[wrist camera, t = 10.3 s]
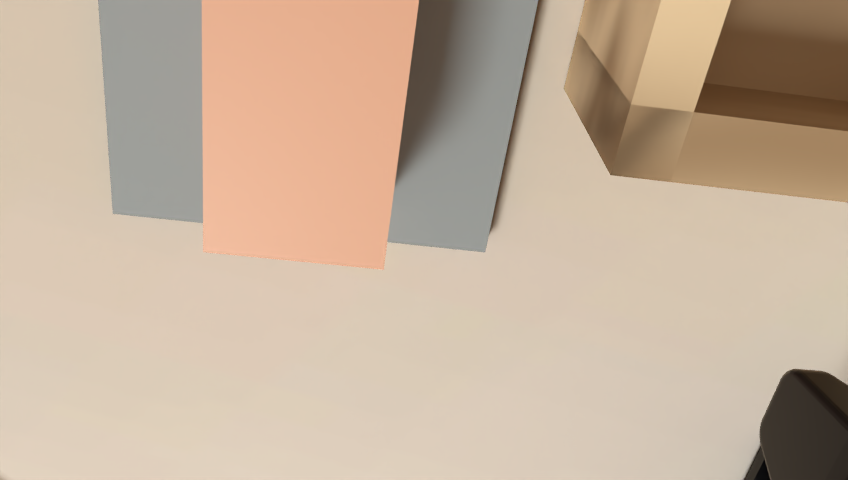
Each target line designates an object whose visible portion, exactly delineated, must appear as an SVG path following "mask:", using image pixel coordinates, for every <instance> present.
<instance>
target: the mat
mask: <svg viewBox="0 0 848 480" xmlns="http://www.w3.org/2000/svg"><path fill="white" fill-rule="evenodd" d="M98 4H99V19H100V33H101V48H102V62H103V77H104V91H105V106H106V120H107V135H108V149H109V164H110V178H111V193H112V207H113V214H121V215H130V216H140V217H150V218H159V219H169V220H179V221H188V222H198V223H203V135H202V0H98ZM537 4H538V0H419V5H418V12H417V20H416V28H415V35H414V43H413V50H412V58H411V66H410V73H409V81H408V88H407V96H406V103H405V111H404V119H403V126H402V134H401V141H400V149H399V157H398V164H397V172H396V179H395V187H394V194H393V202H392V210H391V217H390V225H389V232H388V240H387V242H391V243H401V244H410V245H420V246H430V247H439V248H449V249H459V250H468V251H478V252H485V250H486V246H487V241H488V236H489V232H490V227H491V222H492V217H493V213H494V208H495V203H496V198H497V194H498V189H499V184H500V179H501V175H502V170H503V165H504V160H505V156H506V151H507V146H508V141H509V137H510V132H511V127H512V123H513V118H514V113H515V108H516V104H517V99H518V94H519V89H520V85H521V80H522V75H523V70H524V66H525V61H526V56H527V51H528V47H529V42H530V37H531V32H532V28H533V23H534V18H535V13H536V9H537Z"/></svg>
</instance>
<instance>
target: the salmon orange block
mask: <svg viewBox="0 0 848 480" xmlns="http://www.w3.org/2000/svg"><path fill="white" fill-rule="evenodd" d="M418 5H419V0H202V135H203V252H209V253H219V254H229V255H239V256H250V257H260V258H270V259H280V260H291V261H301V262H311V263H322V264H332V265H342V266H352V267H363V268H373V269H383V270H384V263H385V255H386V248H387V240H388V232H389V225H390V217H391V210H392V202H393V194H394V187H395V179H396V172H397V164H398V157H399V149H400V141H401V134H402V126H403V119H404V111H405V103H406V96H407V88H408V81H409V73H410V66H411V58H412V50H413V43H414V35H415V28H416V20H417V12H418Z"/></svg>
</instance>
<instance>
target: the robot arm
mask: <svg viewBox="0 0 848 480" xmlns="http://www.w3.org/2000/svg"><path fill="white" fill-rule="evenodd" d="M760 443H761V448H760V450H759V452H758V454H757V456H756V458H755V460H754V462H753V464H752V466H751V469H750V471H749V473H748V475H747V477H746V479H745V480H848V385H846V384H845V383H843V382H842V381H840V380H839V379H837V378H836V377H834V376H833V375H831V374H829V373H827V372H823V371H815V370H803V369H792V370H789V371H788V372H786V373H785V374H784V375H783V377H782V378H781V380H780V382H779V384H778V387H777V389H776V391H775V393H774V395H773V397H772V400H771V402H770V404H769V406H768V408H767V410H766V413H765V415H764V417H763V419H762V422H761V426H760Z"/></svg>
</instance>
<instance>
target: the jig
mask: <svg viewBox="0 0 848 480" xmlns="http://www.w3.org/2000/svg"><path fill="white" fill-rule="evenodd" d="M564 90H565V92H566V93H567V95H568V97H569V99H570V101H571V103H572V105H573V106H574V108H575V110H576V112H577V114H578V116H579V117H580V119H581V121H582V123H583V125H584V127H585V129H586V130H587V132H588V134H589V136H590V138H591V140H592V142H593V143H594V145H595V147H596V149H597V151H598V153H599V154H600V156H601V158H602V160H603V162H604V164H605V166H606V167H607V169H608V171H609V173H610V175H615V176H624V177H632V178H641V179H650V180H658V181H667V182H676V183H684V184H693V185H702V186H710V187H719V188H728V189H736V190H745V191H754V192H762V193H771V194H780V195H788V196H797V197H806V198H814V199H823V200H832V201H840V202H848V0H585V3H584V8H583V12H582V16H581V20H580V24H579V28H578V32H577V37H576V41H575V45H574V49H573V53H572V57H571V62H570V66H569V70H568V74H567V78H566V82H565V86H564Z"/></svg>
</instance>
